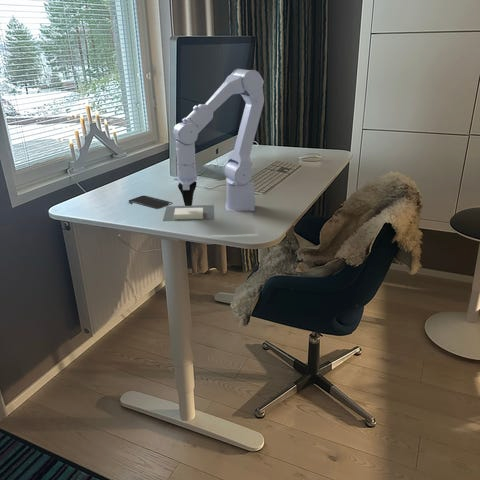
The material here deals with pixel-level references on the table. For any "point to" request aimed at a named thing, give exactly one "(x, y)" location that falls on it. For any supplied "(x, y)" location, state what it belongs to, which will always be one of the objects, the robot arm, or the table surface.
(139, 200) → the phone
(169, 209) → the desk mat
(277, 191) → the table surface
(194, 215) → the card box
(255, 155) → the table surface
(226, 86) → the robot arm
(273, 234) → the table surface
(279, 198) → the table surface
